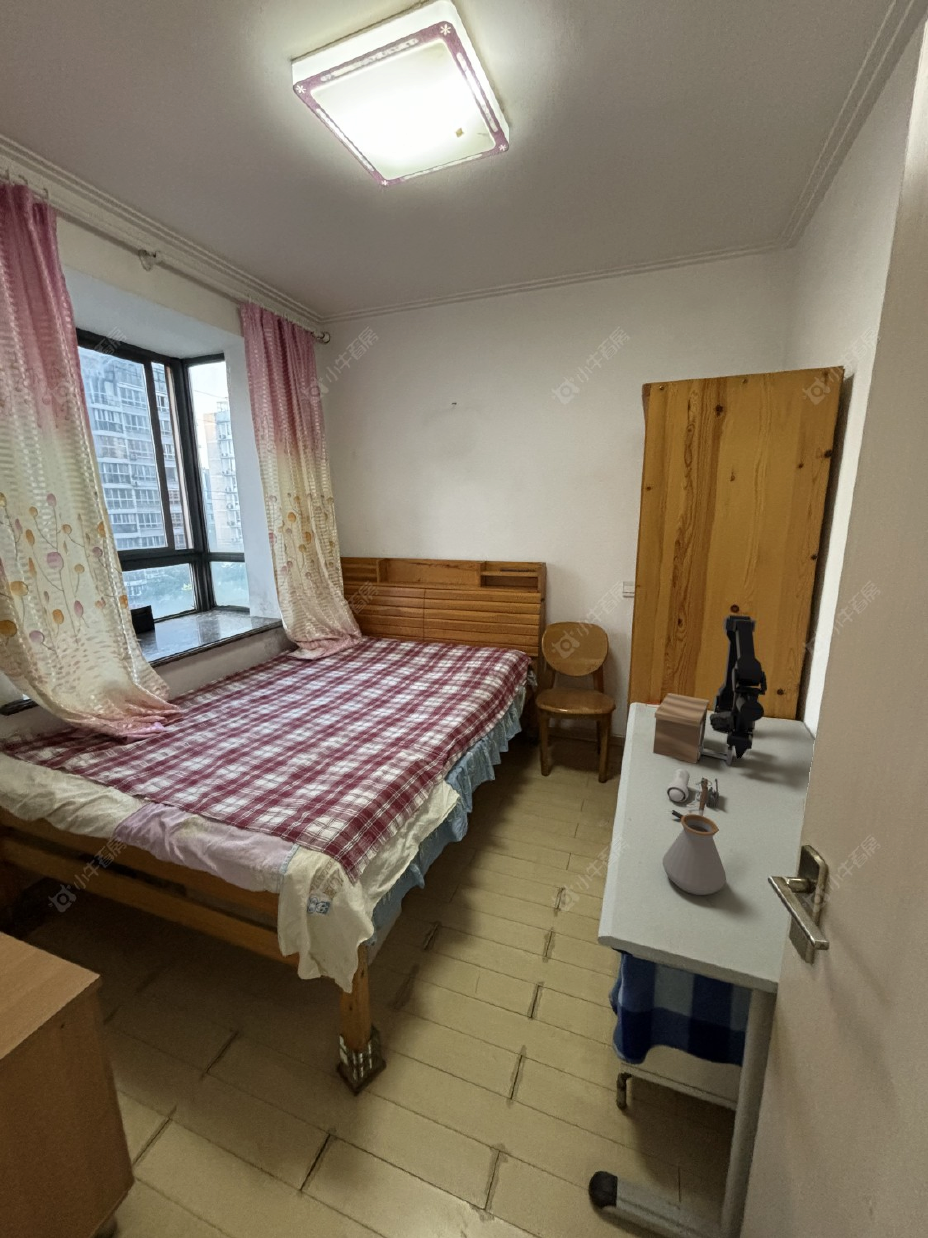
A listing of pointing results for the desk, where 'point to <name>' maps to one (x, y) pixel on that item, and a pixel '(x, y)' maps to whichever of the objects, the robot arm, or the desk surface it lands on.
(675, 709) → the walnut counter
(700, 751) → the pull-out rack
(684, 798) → the clip-on lamp
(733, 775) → the desk surface
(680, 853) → the coffee pot
